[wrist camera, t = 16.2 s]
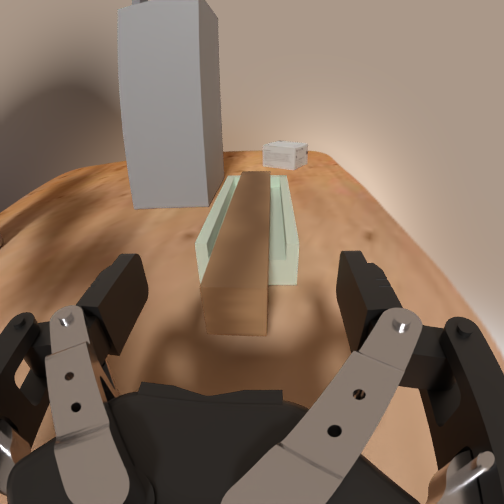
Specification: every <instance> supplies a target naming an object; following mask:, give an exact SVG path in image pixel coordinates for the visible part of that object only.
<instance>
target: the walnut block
mask: <svg viewBox="0 0 504 504" xmlns="http://www.w3.org/2000/svg"><path fill="white" fill-rule="evenodd" d="M270 203H271V178H270V171H248V172H242V173H241V176H240V179H239V181H238V184H237V186H236V189H235V191H234V194H233V197H232V199H231V202H230V205H229V207H228V210H227V213H226V215H225V218H224V221H223V223H222V226H221V229H220V231H219V234H218V237H217V240H216V242H215V245H214V248H213V251H212V253H211V256H210V259H209V262H208V264H207V267H206V270H205V273H204V276H203V279H202V281H201V284H200V292H201V299H202V305H203V311H204V317H205V323H206V329H207V334H217V335H240V336H266V335H267V309H268V279H269V245H270Z"/></svg>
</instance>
